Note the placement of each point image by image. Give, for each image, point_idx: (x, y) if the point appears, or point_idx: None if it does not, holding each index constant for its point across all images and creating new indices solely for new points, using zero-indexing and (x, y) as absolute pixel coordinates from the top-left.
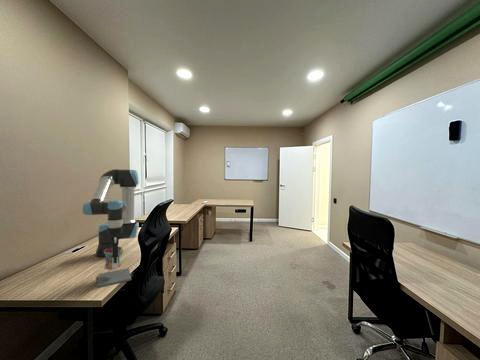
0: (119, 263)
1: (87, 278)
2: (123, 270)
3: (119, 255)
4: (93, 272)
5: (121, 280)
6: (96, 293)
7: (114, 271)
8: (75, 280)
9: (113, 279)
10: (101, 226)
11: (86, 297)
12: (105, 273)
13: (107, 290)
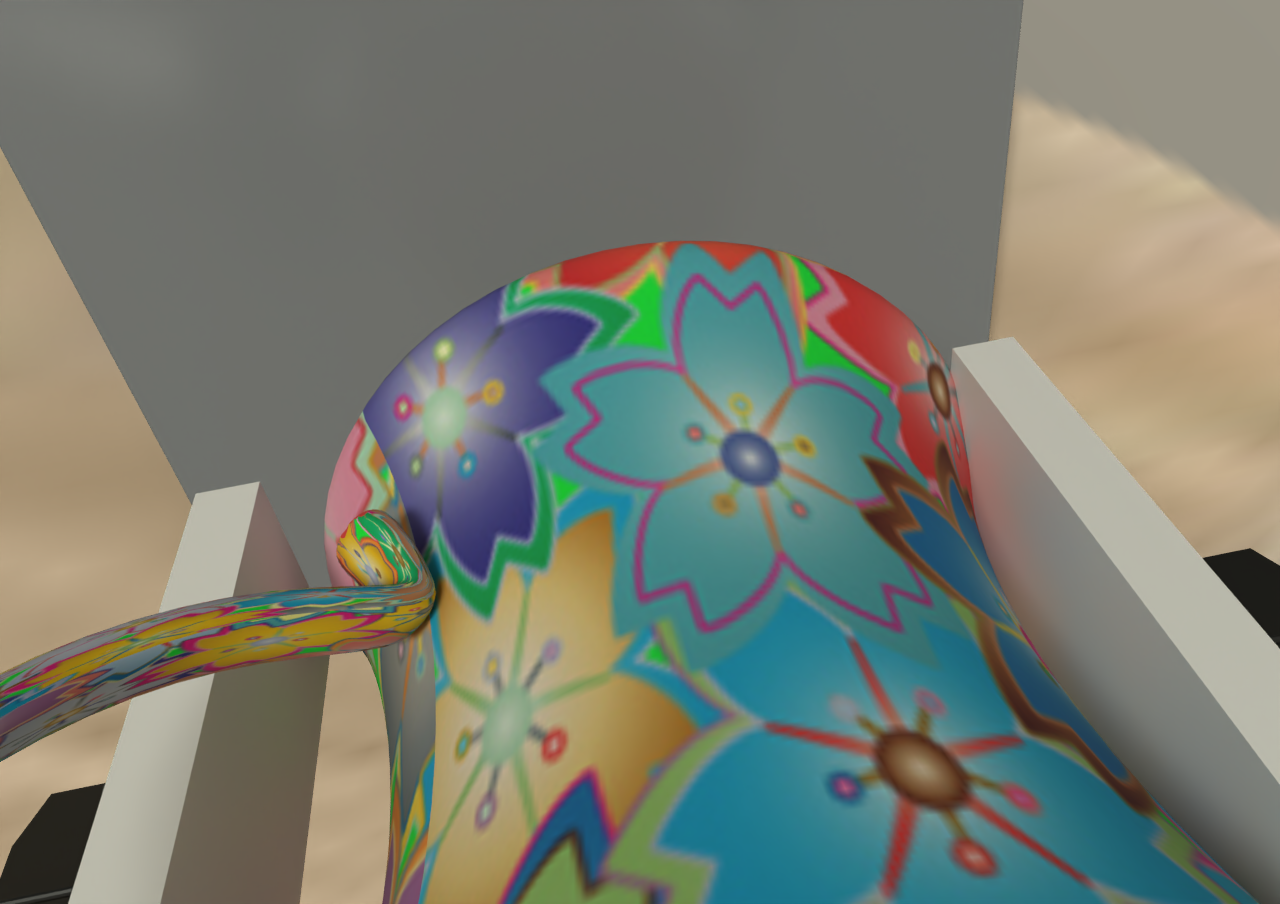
0: (837, 373)
1: (382, 749)
2: (114, 33)
3: (1019, 758)
4: (50, 748)
5: (1011, 6)
6: (1199, 447)
7: (162, 332)
8: None
9: (806, 257)
10: None
11: (1229, 551)
12: (281, 526)
13: (1227, 277)
